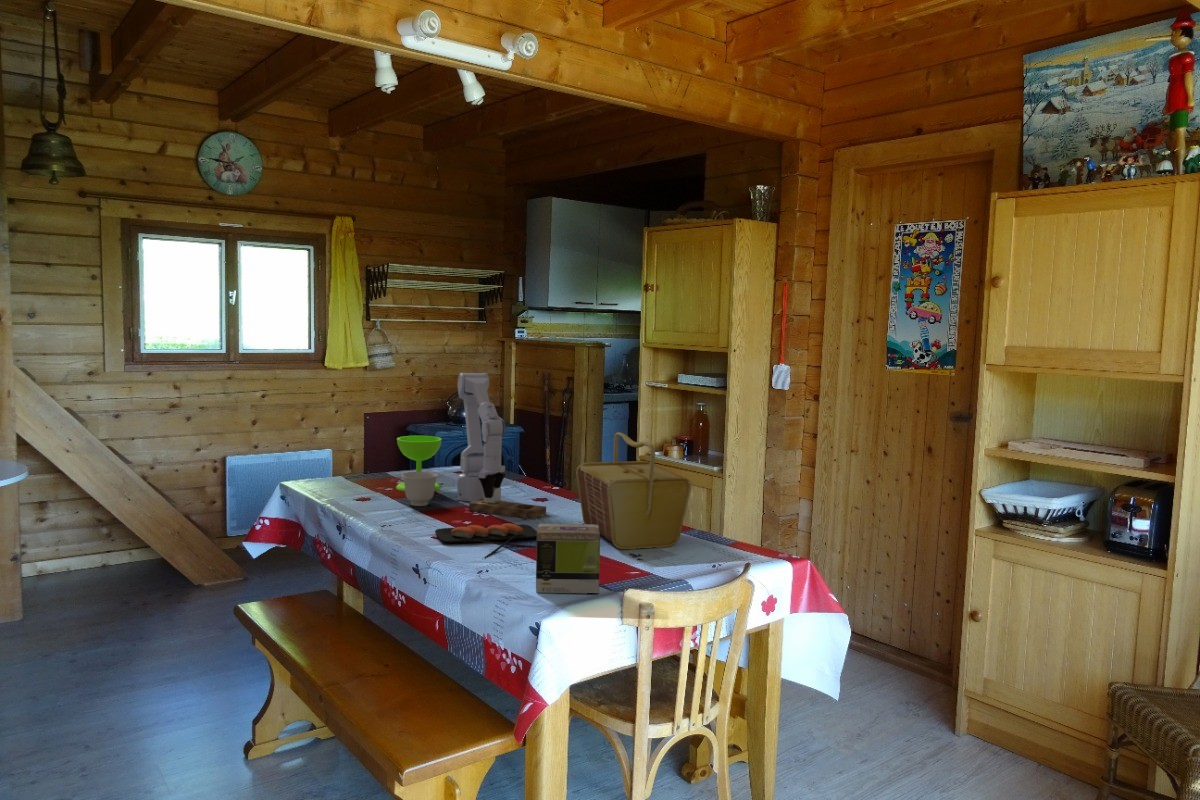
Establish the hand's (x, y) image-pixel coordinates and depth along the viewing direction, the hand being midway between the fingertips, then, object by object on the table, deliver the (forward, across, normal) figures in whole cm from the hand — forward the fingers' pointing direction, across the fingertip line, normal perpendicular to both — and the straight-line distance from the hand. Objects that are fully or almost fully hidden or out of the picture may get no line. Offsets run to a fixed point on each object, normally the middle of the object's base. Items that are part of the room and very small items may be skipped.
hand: (491, 496), depth 284 cm
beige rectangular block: (+4, 0, 0) cm, 4 cm away
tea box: (+5, -63, -54) cm, 83 cm away
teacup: (+5, -3, +25) cm, 26 cm away
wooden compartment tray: (+5, 0, -6) cm, 8 cm away
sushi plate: (+5, -36, -20) cm, 42 cm away
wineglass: (+5, +19, +40) cm, 45 cm away
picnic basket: (+5, -11, -52) cm, 53 cm away
